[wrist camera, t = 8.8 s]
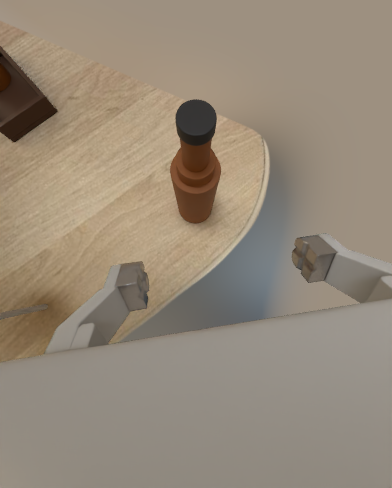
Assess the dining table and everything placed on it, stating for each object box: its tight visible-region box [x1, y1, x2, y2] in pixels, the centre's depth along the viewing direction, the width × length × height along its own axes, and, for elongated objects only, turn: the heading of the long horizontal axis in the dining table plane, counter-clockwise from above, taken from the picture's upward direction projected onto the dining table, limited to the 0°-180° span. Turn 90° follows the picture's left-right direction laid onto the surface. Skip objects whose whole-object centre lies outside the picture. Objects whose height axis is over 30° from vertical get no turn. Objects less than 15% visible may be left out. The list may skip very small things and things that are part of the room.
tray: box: [0, 46, 57, 142], centre depth 29 cm, size 14×8×3 cm, turn 42°
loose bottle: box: [170, 100, 221, 223], centre depth 20 cm, size 5×5×16 cm
